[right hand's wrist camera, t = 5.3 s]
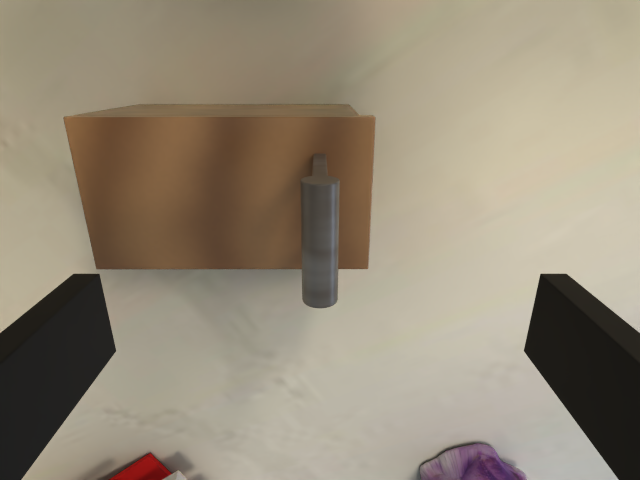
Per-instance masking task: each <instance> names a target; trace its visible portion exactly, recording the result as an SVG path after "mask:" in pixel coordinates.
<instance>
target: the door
mask: <svg viewBox="0 0 640 480" xmlns="http://www.w3.org/2000/svg"><path fill="white" fill-rule="evenodd" d="M64 122H65V127H66V131H67V136H68V141H69V145H70V150H71V154H72V159H73V164H74V168H75V173H76V177H77V182H78V186H79V191H80V196H81V200H82V205H83V209H84V214H85V219H86V223H87V228H88V232H89V237H90V241H91V246H92V251H93V255H94V260H95V264H96V269H302V299H303V302H304V303H305V304H306V305H308V306H310V307H313V308H327V307H330V306H332V305H334V304H335V303H336V302H337V300H338V269H368V264H369V243H370V221H371V200H372V179H373V158H374V136H375V117H374V116H372V115H73V116H67V117H64Z"/></svg>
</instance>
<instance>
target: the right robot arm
mask: <svg viewBox="0 0 640 480" xmlns="http://www.w3.org/2000/svg"><path fill="white" fill-rule="evenodd" d="M115 352H116V348H115V344H114V339H113V335H112V330H111V325H110V321H109V316H108V311H107V307H106V302H105V298H104V293H103V288H102V284H101V279H100V274H73V275H72V276H70V277H69V278H68V279H67V280H65V281H64V282H63V283H62V284H61V285H59V286H58V287H57V288H56V289H54V290H53V291H52V292H51V293H49V294H48V295H47V296H46V297H44V298H43V299H42V300H41V301H39V302H38V303H37V304H36V305H35V306H33V307H32V308H31V309H30V310H28V311H27V312H26V313H25V314H23V315H22V316H21V317H20V318H18V319H17V320H16V321H15V322H14V323H12V324H11V325H10V326H9V327H7V328H6V329H5V330H4V331H2V332H1V333H0V480H21V479H22V478H23V476H24V475H25V474H26V472H27V471H28V470H29V468H30V467H31V466H32V464H33V463H34V462H35V460H36V459H37V457H38V456H39V455H40V453H41V452H42V451H43V449H44V448H45V447H46V445H47V444H48V443H49V441H50V440H51V438H52V437H53V436H54V434H55V433H56V432H57V430H58V429H59V428H60V426H61V425H62V424H63V422H64V421H65V420H66V418H67V417H68V415H69V414H70V413H71V411H72V410H73V409H74V407H75V406H76V405H77V403H78V402H79V401H80V399H81V398H82V396H83V395H84V394H85V392H86V391H87V390H88V388H89V387H90V386H91V384H92V383H93V382H94V380H95V379H96V377H97V376H98V375H99V373H100V372H101V371H102V369H103V368H104V367H105V365H106V364H107V363H108V361H109V360H110V358H111V357H112V356H113V354H114V353H115ZM524 352H525V353H526V354H527V356H528V357H529V358H530V360H531V361H532V363H533V364H534V365H535V367H536V368H537V369H538V371H539V372H540V373H541V375H542V376H543V377H544V379H545V380H546V382H547V383H548V384H549V386H550V387H551V388H552V390H553V391H554V392H555V394H556V395H557V396H558V398H559V399H560V401H561V402H562V403H563V405H564V406H565V407H566V409H567V410H568V411H569V413H570V414H571V415H572V417H573V418H574V420H575V421H576V422H577V424H578V425H579V426H580V428H581V429H582V430H583V432H584V433H585V434H586V436H587V437H588V438H589V440H590V441H591V443H592V444H593V445H594V447H595V448H596V449H597V451H598V452H599V453H600V455H601V456H602V457H603V459H604V460H605V462H606V463H607V464H608V466H609V467H610V468H611V470H612V471H613V472H614V474H615V475H616V476H617V478H618V479H619V480H640V333H639V332H638V331H636V330H635V329H634V328H633V327H631V326H630V325H629V324H628V323H626V322H625V321H624V320H623V319H622V318H620V317H619V316H618V315H617V314H615V313H614V312H613V311H612V310H610V309H609V308H608V307H607V306H605V305H604V304H603V303H602V302H601V301H599V300H598V299H597V298H596V297H594V296H593V295H592V294H591V293H589V292H588V291H587V290H586V289H584V288H583V287H582V286H581V285H579V284H578V283H577V282H576V281H575V280H573V279H572V278H571V277H570V276H568V275H567V274H540V279H539V284H538V288H537V293H536V298H535V302H534V307H533V311H532V316H531V321H530V325H529V330H528V335H527V339H526V344H525V348H524Z"/></svg>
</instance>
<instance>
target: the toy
mask: <svg viewBox="0 0 640 480" xmlns="http://www.w3.org/2000/svg"><path fill="white" fill-rule="evenodd" d="M109 480H188V479H187V478H186V477H185V476H184V475H183V474H182V473H181V472H180V471H179V470H178V471H176V472H174V473H173V474H172V473H171V472H170V471H168V470H167V469H166V468H165V467H164V466H163V465H162V464H161V463H160V462H159V461H158V460H157V459H156V458H155V457H154V456H153V455H152V454H151V453H149V454H148V455H146V456H145V457H143V458H141V459H140V460H138V461H137V462H135V463H134V464H132V465H131V466H129V467H128V468H126V469H125V470H123V471H121V472H120V473H118V474H117V475H115V476H114V477H112V478H111V479H109Z"/></svg>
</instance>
